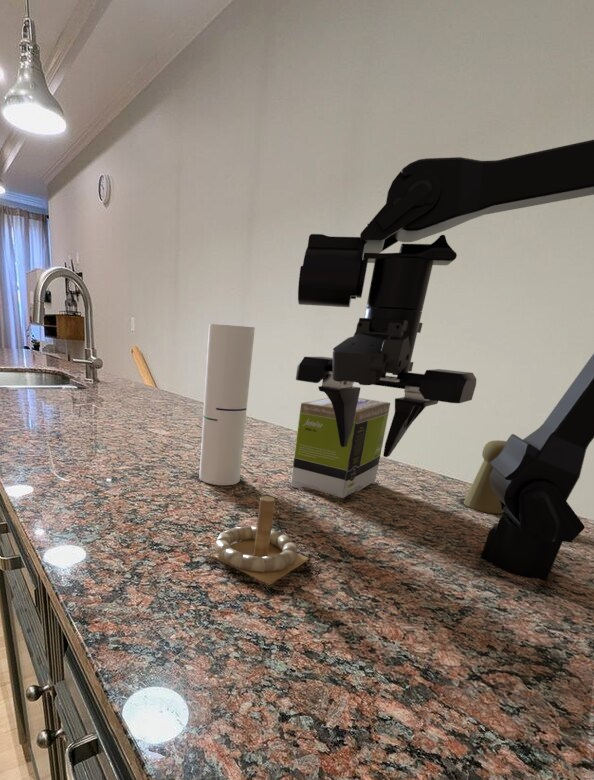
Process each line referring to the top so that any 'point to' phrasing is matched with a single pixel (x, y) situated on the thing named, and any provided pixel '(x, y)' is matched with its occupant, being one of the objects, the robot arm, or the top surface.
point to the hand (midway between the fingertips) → (364, 451)
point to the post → (263, 545)
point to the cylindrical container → (225, 402)
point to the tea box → (338, 447)
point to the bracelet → (255, 562)
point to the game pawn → (485, 482)
